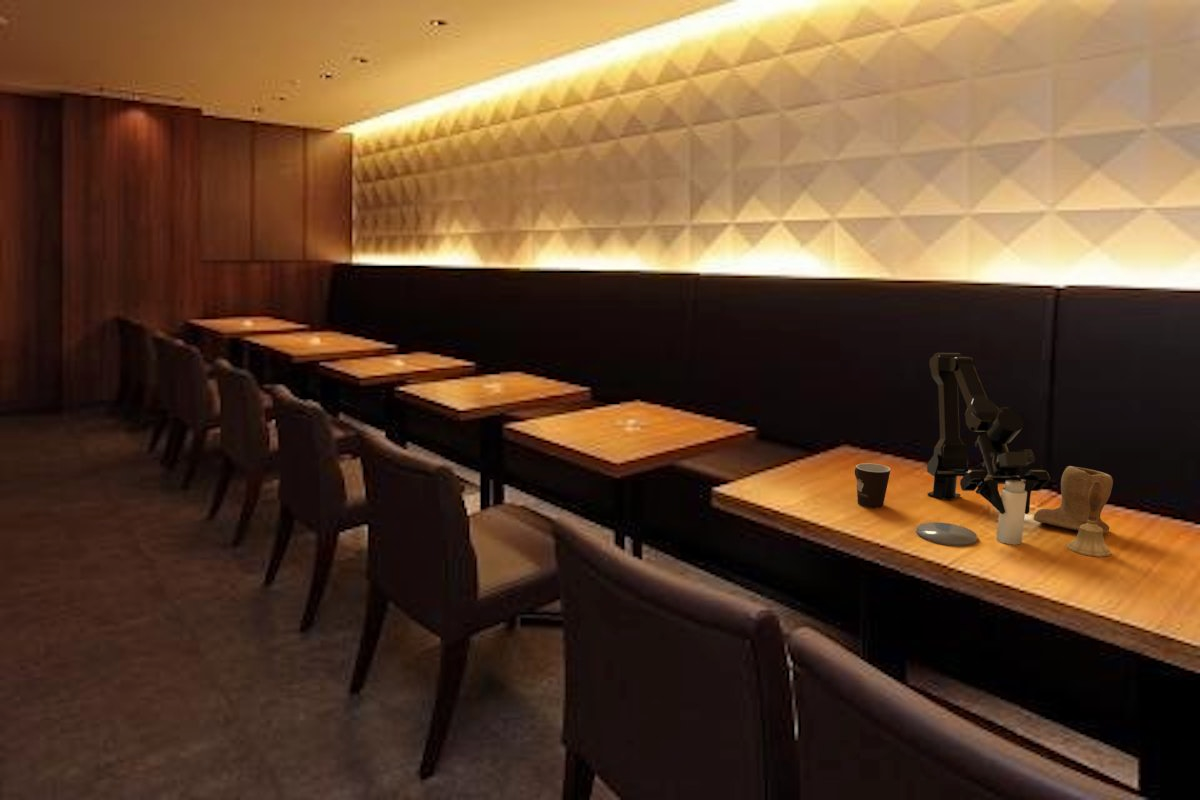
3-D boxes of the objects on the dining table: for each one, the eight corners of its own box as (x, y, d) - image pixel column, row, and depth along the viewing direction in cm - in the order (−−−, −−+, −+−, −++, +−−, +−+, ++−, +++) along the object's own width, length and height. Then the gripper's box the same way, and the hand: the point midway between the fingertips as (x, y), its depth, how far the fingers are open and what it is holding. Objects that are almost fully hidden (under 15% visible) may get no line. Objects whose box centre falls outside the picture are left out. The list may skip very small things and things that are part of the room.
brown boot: (1113, 528, 191) (1121, 468, 188) (1104, 541, 182) (1112, 478, 179) (1043, 514, 201) (1050, 457, 198) (1031, 526, 192) (1038, 466, 189)
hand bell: (1059, 543, 180) (1067, 476, 177) (1093, 543, 181) (1101, 476, 178) (1083, 557, 172) (1092, 487, 169) (1119, 556, 173) (1129, 486, 170)
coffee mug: (890, 510, 203) (893, 473, 201) (855, 508, 204) (857, 471, 202) (883, 497, 214) (886, 461, 212) (850, 495, 215) (852, 459, 214)
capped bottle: (1002, 535, 185) (1008, 477, 183) (1025, 541, 181) (1032, 482, 179) (992, 540, 182) (998, 481, 179) (1016, 546, 178) (1022, 487, 175)
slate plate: (932, 522, 194) (932, 518, 193) (986, 537, 184) (986, 532, 184) (905, 534, 185) (906, 530, 185) (960, 550, 176) (961, 545, 175)
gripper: (970, 436, 181) (989, 496, 172) (1050, 436, 181) (1074, 497, 172) (951, 460, 190) (969, 519, 181) (1028, 460, 190) (1049, 519, 182)
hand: (1015, 513), depth 179 cm, fingers closed on capped bottle, 5 cm apart
